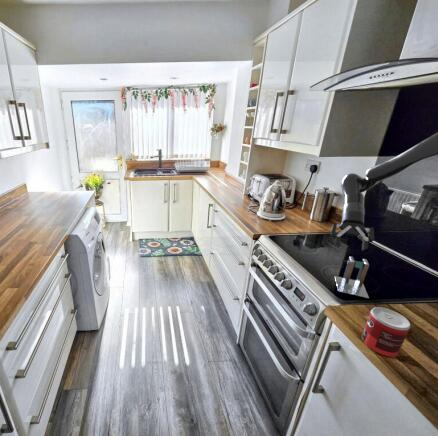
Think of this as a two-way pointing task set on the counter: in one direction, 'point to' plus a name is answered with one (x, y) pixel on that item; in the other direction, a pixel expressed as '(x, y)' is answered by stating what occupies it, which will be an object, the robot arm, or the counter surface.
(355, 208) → the robot arm
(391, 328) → the canned food
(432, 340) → the counter surface
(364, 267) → the bracket
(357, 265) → the lever
